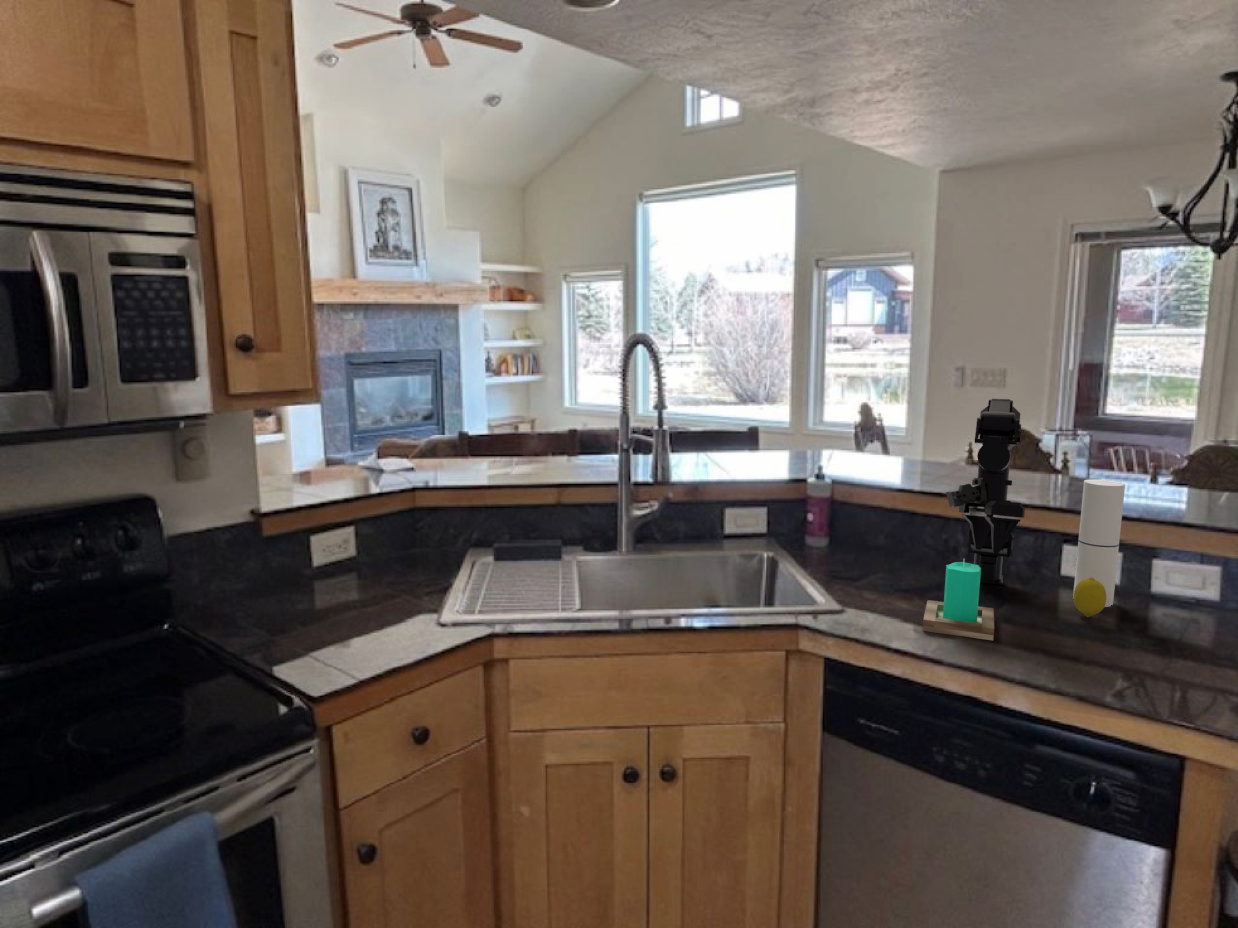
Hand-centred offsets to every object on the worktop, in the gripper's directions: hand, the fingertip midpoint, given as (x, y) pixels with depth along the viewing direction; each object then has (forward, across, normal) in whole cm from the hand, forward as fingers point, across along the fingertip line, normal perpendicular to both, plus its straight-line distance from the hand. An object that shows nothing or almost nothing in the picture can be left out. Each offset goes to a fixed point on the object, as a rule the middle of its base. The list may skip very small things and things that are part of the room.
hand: (986, 551), depth 163 cm
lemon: (+11, +3, +19) cm, 22 cm away
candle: (+13, +10, -8) cm, 18 cm away
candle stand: (+14, +10, -8) cm, 19 cm away
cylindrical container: (+8, -6, +24) cm, 27 cm away
